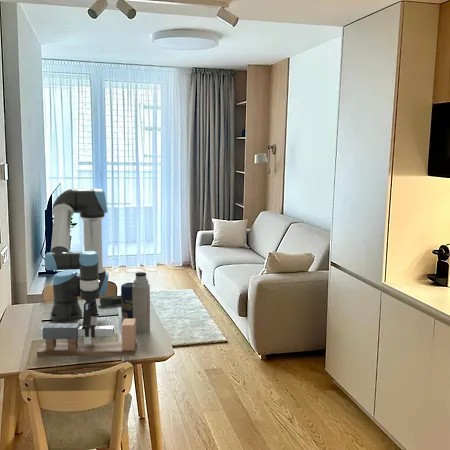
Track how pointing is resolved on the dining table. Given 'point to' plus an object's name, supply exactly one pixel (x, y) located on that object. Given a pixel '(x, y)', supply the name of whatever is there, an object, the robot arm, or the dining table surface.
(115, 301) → the dark green bar
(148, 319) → the thermos bottle
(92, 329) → the telescoping tube
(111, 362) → the dining table surface
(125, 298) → the canister
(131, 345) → the terracotta socket block
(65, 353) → the walnut base board
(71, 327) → the charcoal sleeve
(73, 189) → the robot arm
